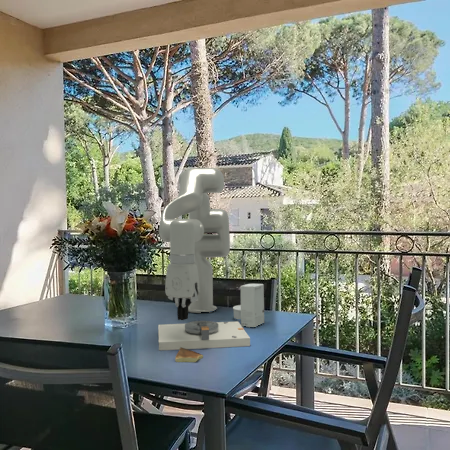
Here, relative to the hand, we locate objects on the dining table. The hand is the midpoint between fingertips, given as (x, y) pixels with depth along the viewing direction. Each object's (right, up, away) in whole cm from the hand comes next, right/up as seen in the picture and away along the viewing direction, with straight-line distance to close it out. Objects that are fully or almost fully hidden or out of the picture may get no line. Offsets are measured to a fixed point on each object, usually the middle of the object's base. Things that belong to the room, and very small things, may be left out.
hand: (182, 319), depth 151 cm
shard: (+1, -10, -10) cm, 14 cm away
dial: (+6, -5, +6) cm, 10 cm away
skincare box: (+23, -8, +27) cm, 36 cm away
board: (+5, -8, +9) cm, 14 cm away
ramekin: (+20, -7, +38) cm, 44 cm away
